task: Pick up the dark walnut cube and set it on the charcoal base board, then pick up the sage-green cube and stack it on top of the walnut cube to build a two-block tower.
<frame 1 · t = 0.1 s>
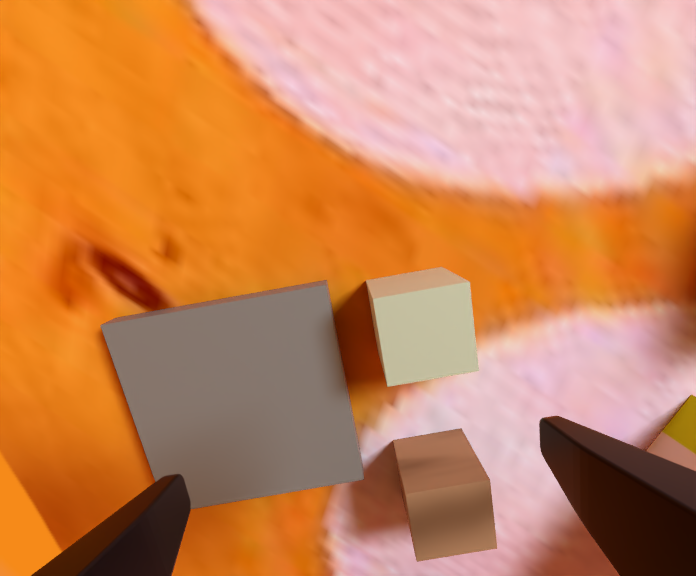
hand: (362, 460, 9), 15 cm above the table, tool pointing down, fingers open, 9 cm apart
base board: (246, 395, 24), on the table
sage cube: (408, 309, 23), on the table
puzzle toy: (694, 472, 27), on the table
walnut cube: (431, 462, 26), on the table
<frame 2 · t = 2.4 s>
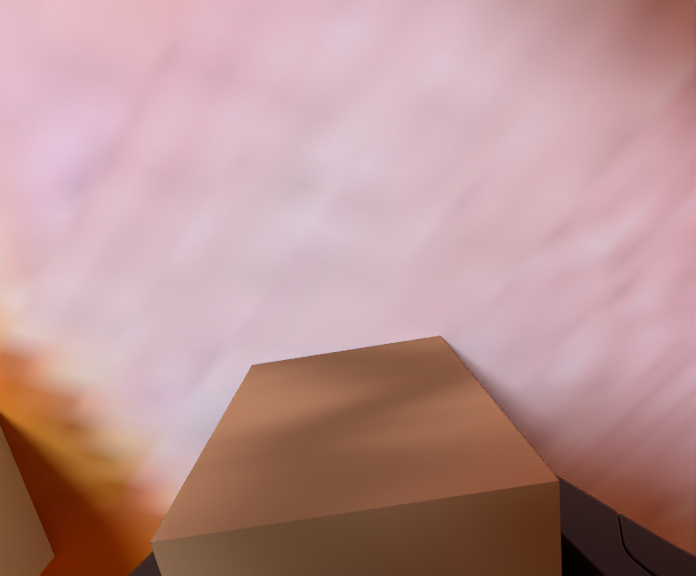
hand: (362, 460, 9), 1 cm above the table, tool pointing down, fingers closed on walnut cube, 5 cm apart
walnut cube: (359, 433, 10), on the table, touching gripper
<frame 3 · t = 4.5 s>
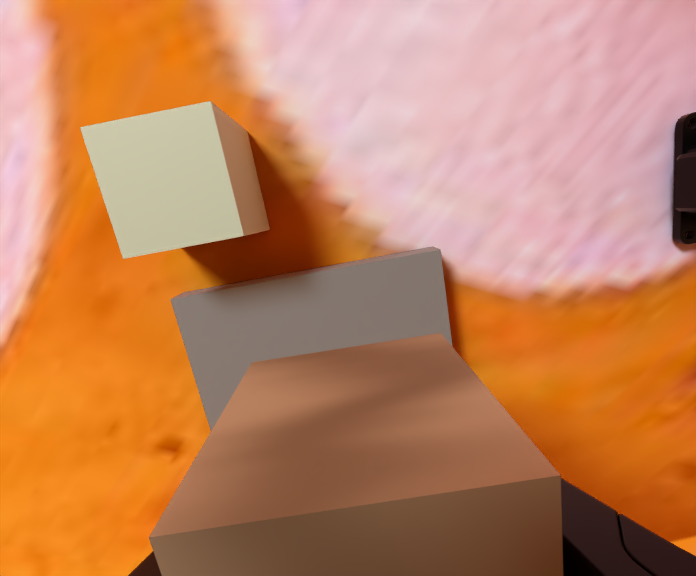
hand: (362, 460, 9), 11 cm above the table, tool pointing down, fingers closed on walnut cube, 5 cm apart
base board: (331, 384, 21), on the table
sage cube: (213, 191, 18), on the table
walnut cube: (360, 431, 10), point 10 cm above the table, touching gripper
when the fingers open (3 cm above the table, at t = 6.6 s): walnut cube stays where it is, resting on base board.
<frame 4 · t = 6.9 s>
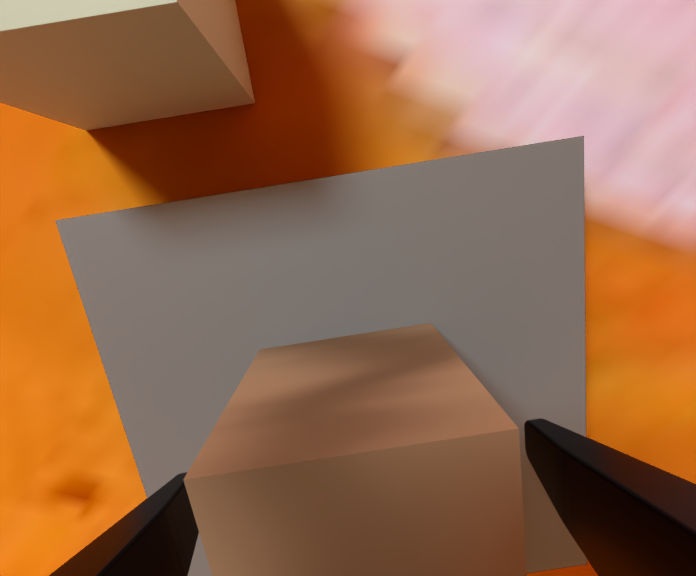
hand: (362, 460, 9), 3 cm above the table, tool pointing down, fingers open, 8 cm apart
base board: (355, 390, 12), on the table
sage cube: (148, 21, 10), on the table
walnut cube: (357, 413, 11), point 1 cm above the table, touching base board
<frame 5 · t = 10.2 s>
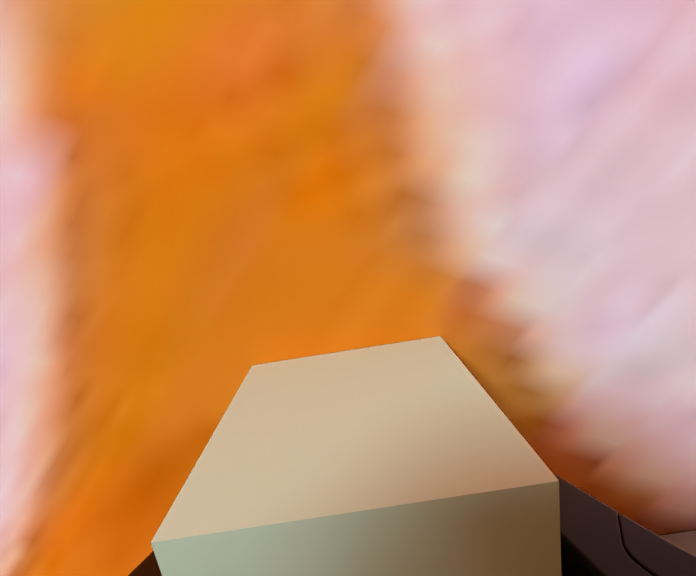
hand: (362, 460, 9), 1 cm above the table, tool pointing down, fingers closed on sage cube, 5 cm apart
sage cube: (360, 434, 10), on the table, touching gripper
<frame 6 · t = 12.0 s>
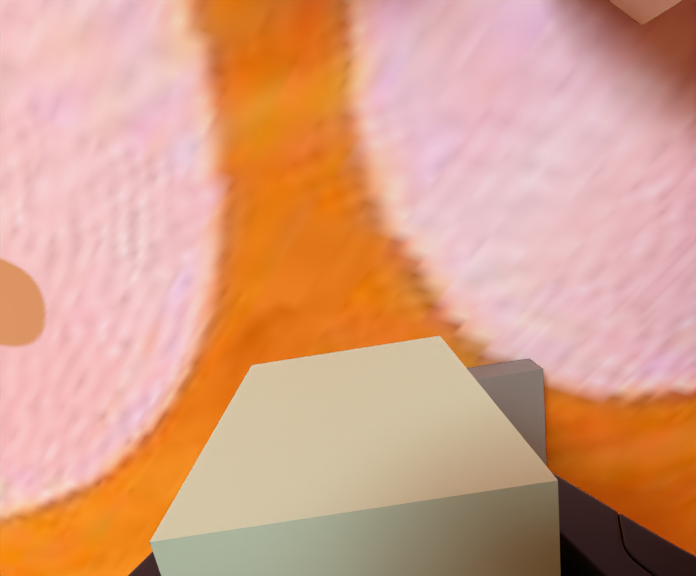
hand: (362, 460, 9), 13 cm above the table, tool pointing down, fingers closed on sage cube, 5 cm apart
base board: (432, 468, 24), on the table
sage cube: (359, 433, 10), point 12 cm above the table, touching gripper
when the fingers open (8 cm above the table, at t = 14.0 s): sage cube stays where it is, resting on walnut cube.
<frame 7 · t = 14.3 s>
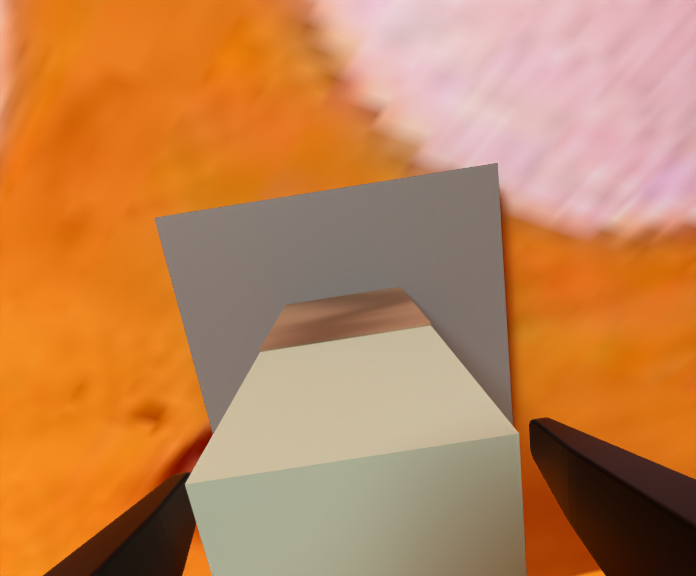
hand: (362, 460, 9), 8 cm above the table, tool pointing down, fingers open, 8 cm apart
base board: (350, 339, 17), on the table
sage cube: (358, 415, 11), point 6 cm above the table, touching walnut cube
walnut cube: (351, 349, 15), point 1 cm above the table, touching base board, sage cube
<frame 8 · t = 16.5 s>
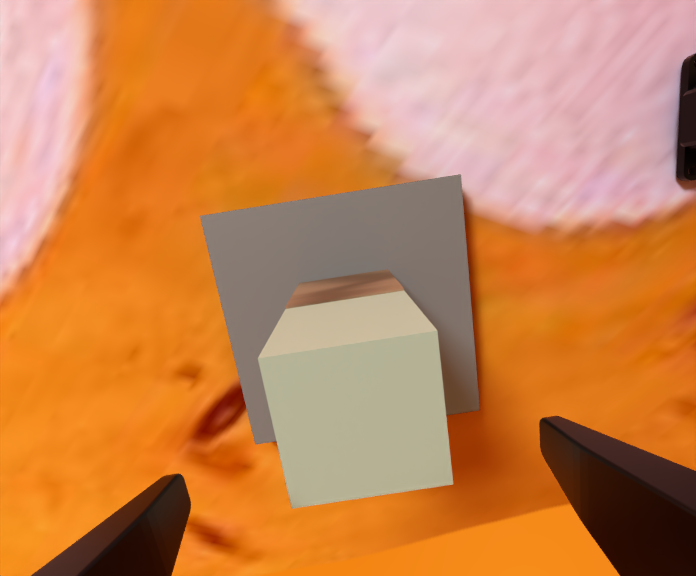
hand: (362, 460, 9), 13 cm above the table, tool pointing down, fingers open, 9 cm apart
base board: (349, 312, 21), on the table
sage cube: (353, 355, 15), point 6 cm above the table, touching walnut cube
walnut cube: (350, 318, 20), point 1 cm above the table, touching base board, sage cube
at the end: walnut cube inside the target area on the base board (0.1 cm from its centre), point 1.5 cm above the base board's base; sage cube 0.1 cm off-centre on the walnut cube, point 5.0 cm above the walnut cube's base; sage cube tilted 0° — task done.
